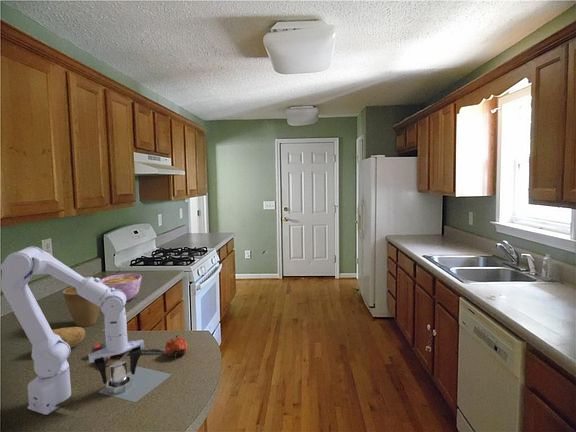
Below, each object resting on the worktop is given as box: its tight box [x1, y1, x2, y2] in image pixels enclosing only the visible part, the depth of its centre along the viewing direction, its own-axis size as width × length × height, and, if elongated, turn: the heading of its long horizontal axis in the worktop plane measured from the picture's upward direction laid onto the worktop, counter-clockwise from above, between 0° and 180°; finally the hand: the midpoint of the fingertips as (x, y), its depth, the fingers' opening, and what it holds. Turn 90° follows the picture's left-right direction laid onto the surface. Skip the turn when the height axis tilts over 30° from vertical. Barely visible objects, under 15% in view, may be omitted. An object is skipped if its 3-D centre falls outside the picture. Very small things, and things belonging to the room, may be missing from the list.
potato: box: [52, 326, 86, 349], centre depth 130 cm, size 10×14×8 cm
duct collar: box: [105, 375, 132, 395], centre depth 104 cm, size 7×7×2 cm
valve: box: [91, 342, 166, 368], centre depth 123 cm, size 6×26×15 cm
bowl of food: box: [100, 273, 143, 302], centre depth 185 cm, size 20×20×12 cm
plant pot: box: [62, 286, 101, 328], centre depth 154 cm, size 15×15×16 cm
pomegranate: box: [164, 335, 188, 360], centre depth 123 cm, size 7×7×10 cm
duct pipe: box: [109, 360, 128, 387], centre depth 104 cm, size 5×4×7 cm
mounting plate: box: [98, 366, 172, 403], centre depth 106 cm, size 15×14×1 cm
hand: (119, 377), depth 103 cm, fingers open, 7 cm apart
